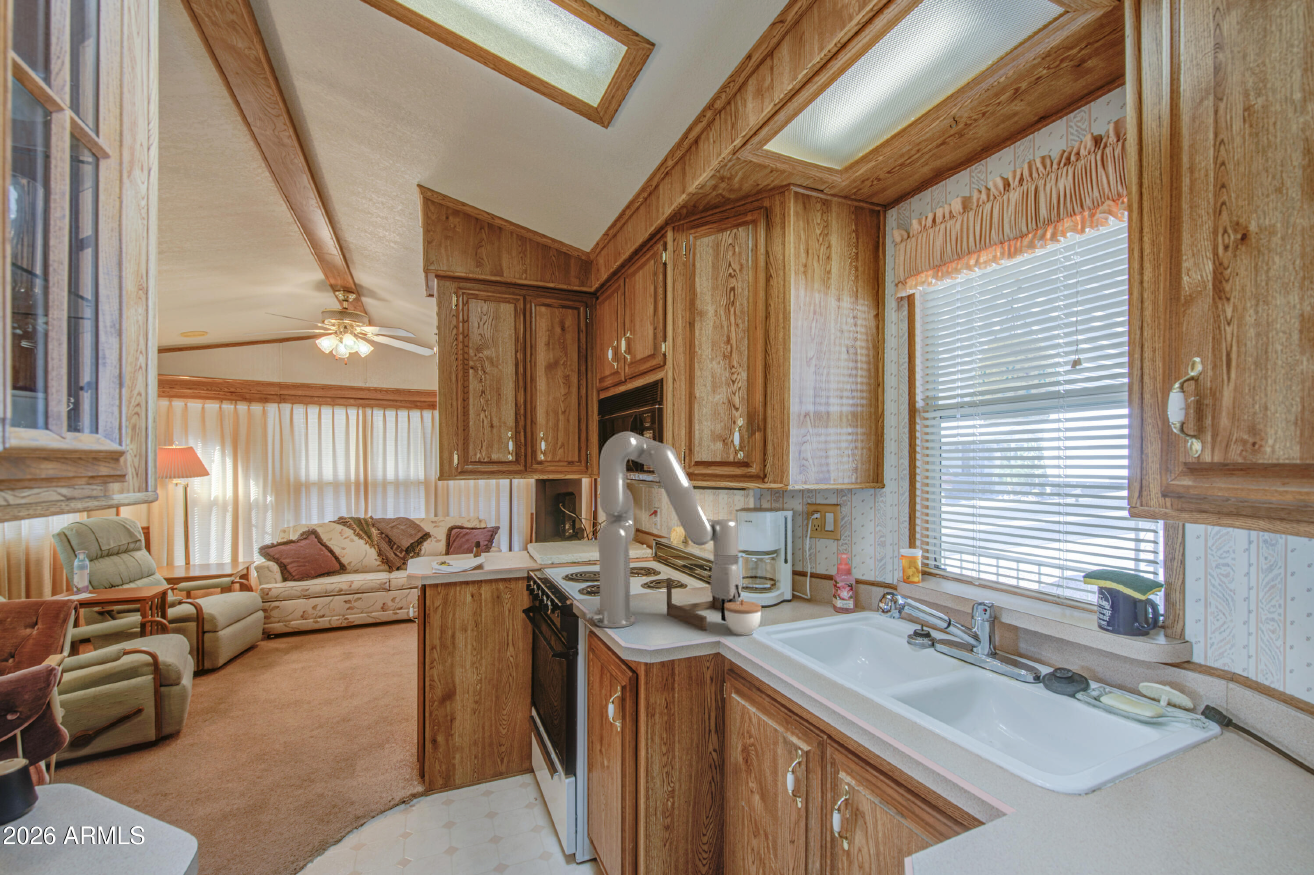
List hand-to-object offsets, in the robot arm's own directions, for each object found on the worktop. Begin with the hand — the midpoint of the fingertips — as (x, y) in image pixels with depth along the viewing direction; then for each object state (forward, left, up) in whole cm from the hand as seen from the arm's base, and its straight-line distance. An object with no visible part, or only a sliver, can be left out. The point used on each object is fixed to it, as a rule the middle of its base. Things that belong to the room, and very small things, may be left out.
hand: (727, 620), depth 170 cm
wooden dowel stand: (0, +9, -1) cm, 9 cm away
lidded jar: (-1, -9, -2) cm, 9 cm away
